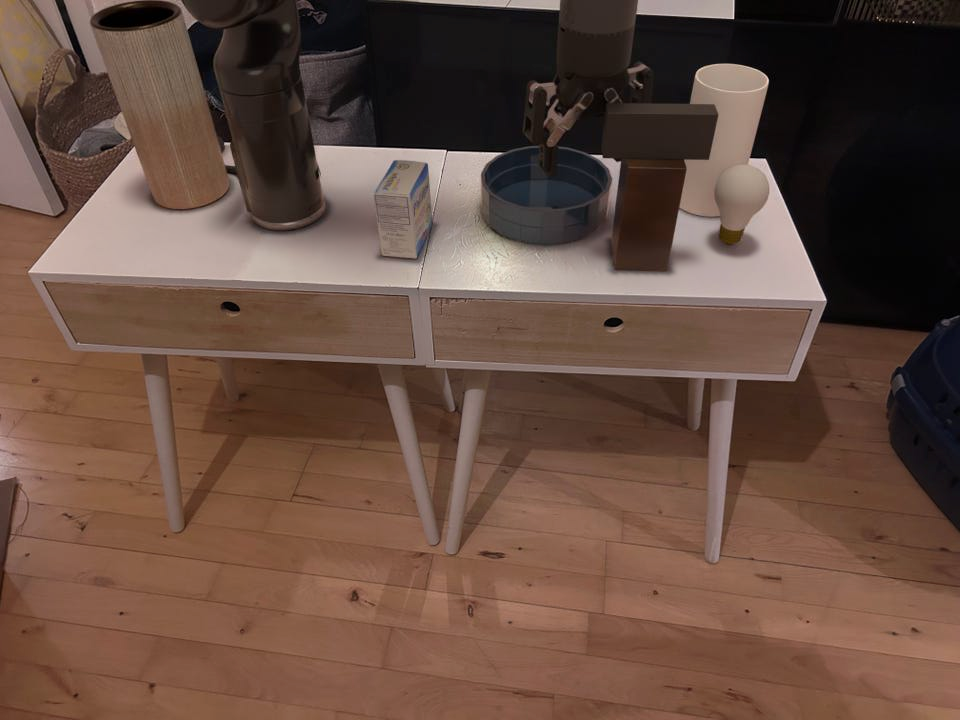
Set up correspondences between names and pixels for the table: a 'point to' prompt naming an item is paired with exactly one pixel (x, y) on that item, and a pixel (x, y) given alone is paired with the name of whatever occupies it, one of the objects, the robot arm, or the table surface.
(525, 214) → the bowl
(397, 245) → the medicine box
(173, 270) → the table surface
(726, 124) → the cup
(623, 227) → the stand
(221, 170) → the planter
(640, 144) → the dark brown flat block
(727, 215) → the light bulb
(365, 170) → the table surface
